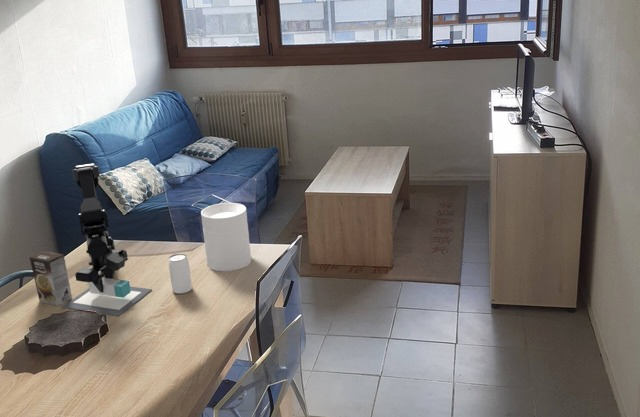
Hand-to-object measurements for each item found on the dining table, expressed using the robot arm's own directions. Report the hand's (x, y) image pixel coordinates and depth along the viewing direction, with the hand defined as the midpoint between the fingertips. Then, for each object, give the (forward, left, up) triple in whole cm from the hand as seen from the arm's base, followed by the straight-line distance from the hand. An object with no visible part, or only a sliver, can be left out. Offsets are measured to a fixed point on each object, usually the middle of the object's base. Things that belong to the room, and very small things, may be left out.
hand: (106, 289), depth 208 cm
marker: (+2, 0, -1) cm, 2 cm away
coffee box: (-17, -5, -4) cm, 18 cm away
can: (+21, +12, -4) cm, 24 cm away
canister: (+26, +36, -4) cm, 45 cm away
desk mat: (0, 0, -4) cm, 4 cm away
